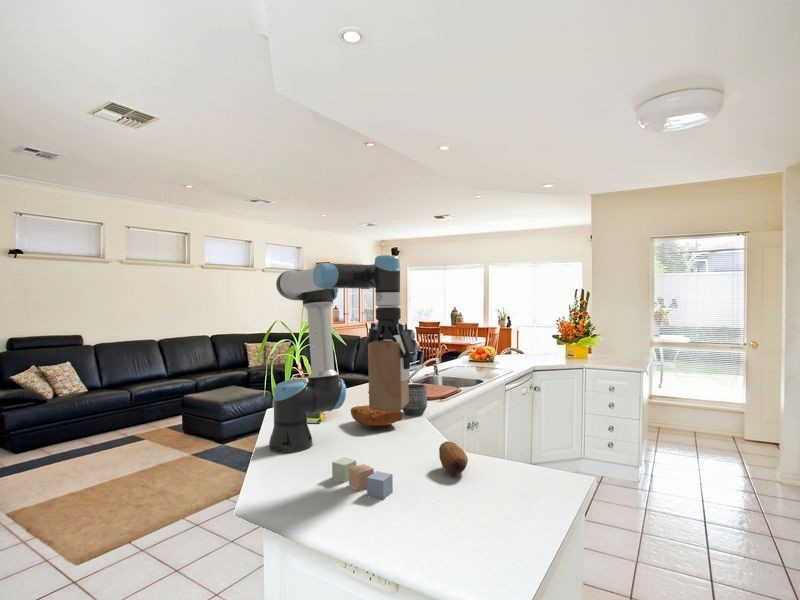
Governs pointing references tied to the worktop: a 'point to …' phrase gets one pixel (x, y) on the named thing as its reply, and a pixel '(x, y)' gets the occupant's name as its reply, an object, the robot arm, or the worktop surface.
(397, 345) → the wooden block
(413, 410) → the planter
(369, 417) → the bread loaf
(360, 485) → the terracotta cube
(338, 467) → the sage cube
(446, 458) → the potato
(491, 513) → the worktop surface
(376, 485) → the slate cube
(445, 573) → the worktop surface
